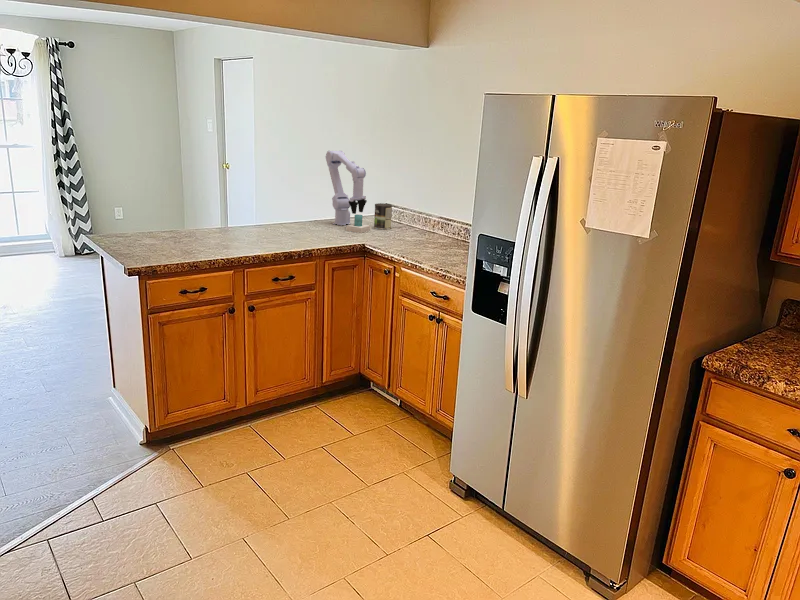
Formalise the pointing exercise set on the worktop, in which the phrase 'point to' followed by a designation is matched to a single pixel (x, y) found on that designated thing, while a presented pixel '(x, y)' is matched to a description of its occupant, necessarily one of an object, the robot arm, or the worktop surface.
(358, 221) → the teal cylinder
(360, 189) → the robot arm
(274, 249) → the worktop surface
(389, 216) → the coffee can
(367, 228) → the plinth
